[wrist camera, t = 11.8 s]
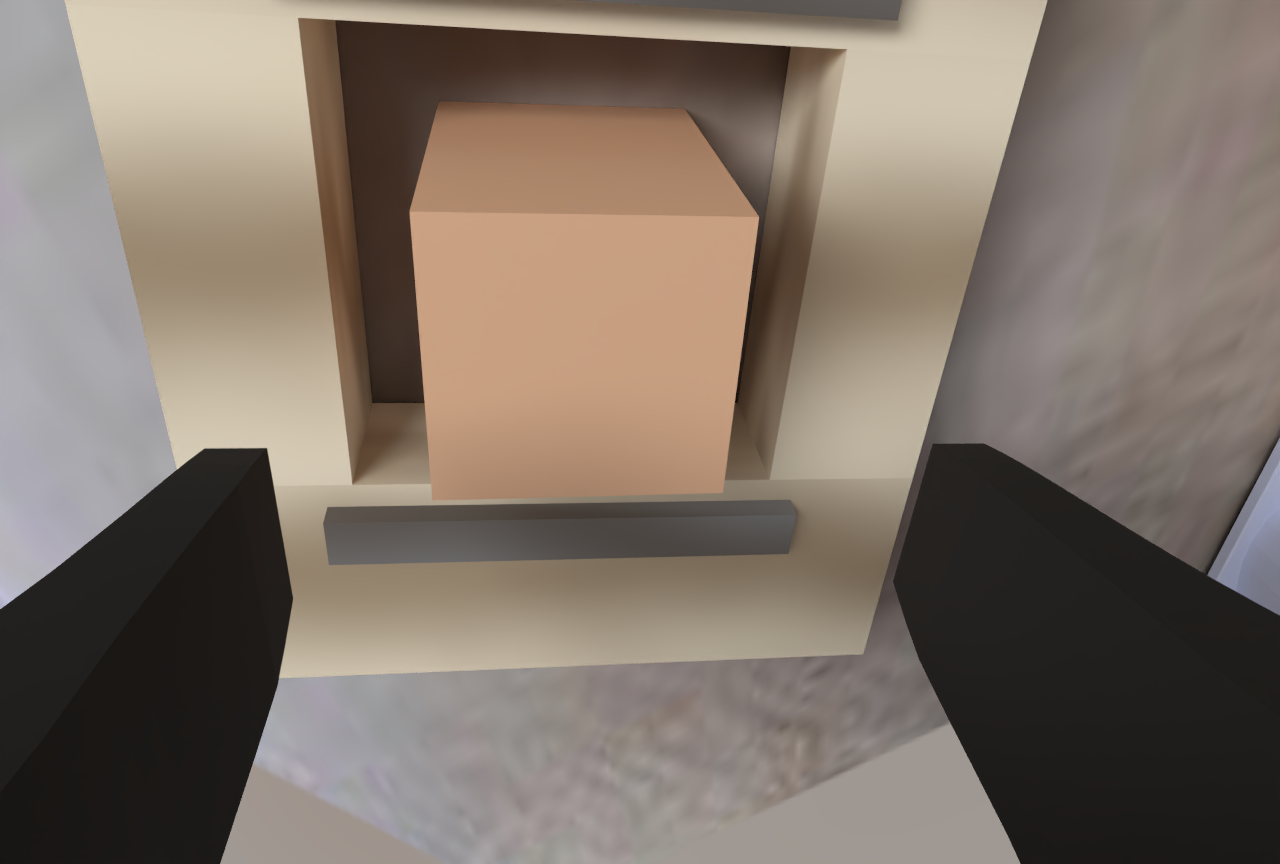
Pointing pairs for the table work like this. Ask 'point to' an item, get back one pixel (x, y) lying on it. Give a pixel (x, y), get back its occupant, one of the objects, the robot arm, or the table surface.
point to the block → (577, 301)
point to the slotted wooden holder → (396, 432)
